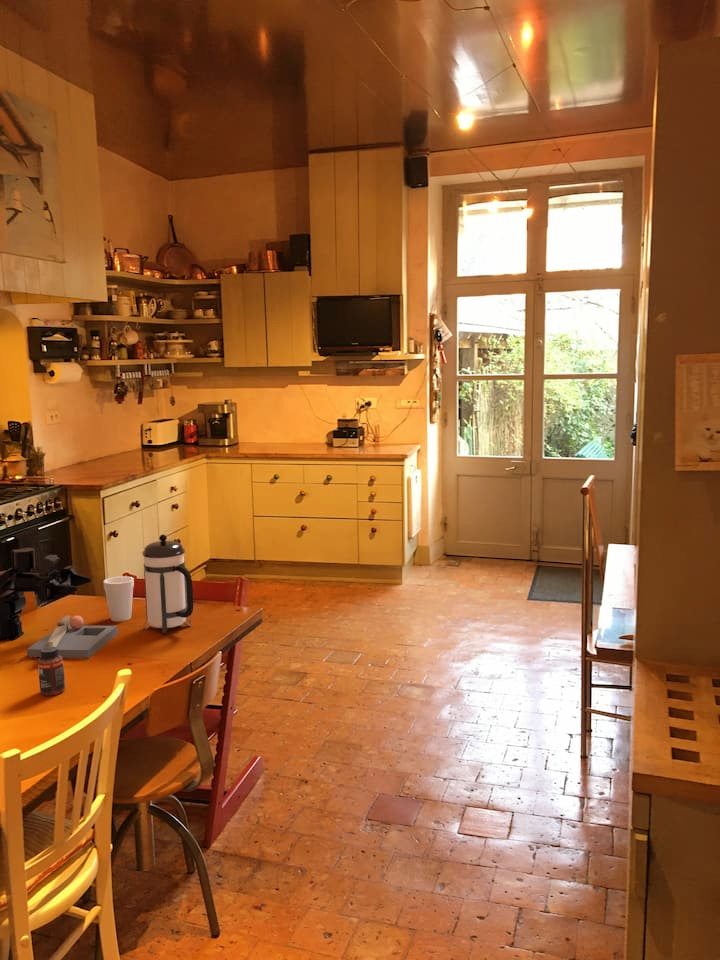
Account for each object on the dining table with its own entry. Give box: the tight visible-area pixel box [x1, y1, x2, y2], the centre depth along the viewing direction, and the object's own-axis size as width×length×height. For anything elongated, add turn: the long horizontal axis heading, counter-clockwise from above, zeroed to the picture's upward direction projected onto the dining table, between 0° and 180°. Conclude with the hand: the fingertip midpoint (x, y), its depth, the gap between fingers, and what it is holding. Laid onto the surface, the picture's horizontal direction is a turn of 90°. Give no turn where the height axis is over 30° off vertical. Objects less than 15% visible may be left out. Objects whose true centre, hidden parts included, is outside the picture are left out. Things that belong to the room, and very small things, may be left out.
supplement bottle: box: [37, 647, 66, 697], centre depth 193 cm, size 6×6×11 cm
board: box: [26, 625, 119, 659], centre depth 228 cm, size 18×21×2 cm
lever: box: [47, 615, 71, 647], centre depth 225 cm, size 2×24×4 cm, turn 10°
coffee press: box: [142, 534, 194, 636], centre depth 240 cm, size 17×16×30 cm
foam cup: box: [103, 575, 135, 622], centre depth 252 cm, size 10×9×13 cm
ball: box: [70, 615, 84, 629], centre depth 235 cm, size 4×4×4 cm
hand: (84, 584), depth 232 cm, fingers open, 9 cm apart
